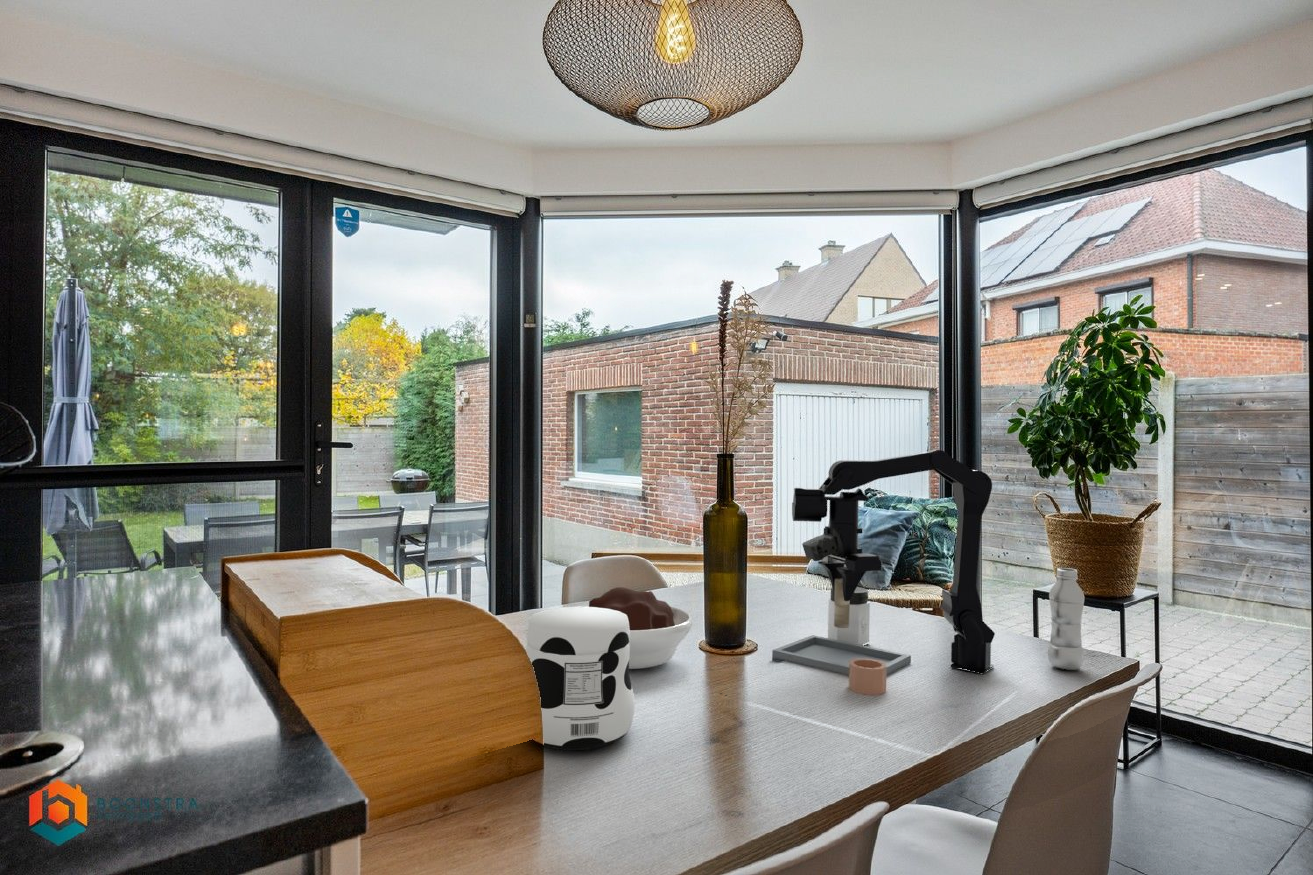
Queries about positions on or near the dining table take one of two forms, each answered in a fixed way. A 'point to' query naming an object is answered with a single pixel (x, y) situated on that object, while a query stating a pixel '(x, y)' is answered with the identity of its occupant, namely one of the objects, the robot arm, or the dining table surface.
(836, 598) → the pin
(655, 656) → the white bowl
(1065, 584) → the plastic bottle
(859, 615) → the jar
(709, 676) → the dining table surface
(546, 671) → the milk container
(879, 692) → the cup
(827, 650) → the tray
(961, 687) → the dining table surface
